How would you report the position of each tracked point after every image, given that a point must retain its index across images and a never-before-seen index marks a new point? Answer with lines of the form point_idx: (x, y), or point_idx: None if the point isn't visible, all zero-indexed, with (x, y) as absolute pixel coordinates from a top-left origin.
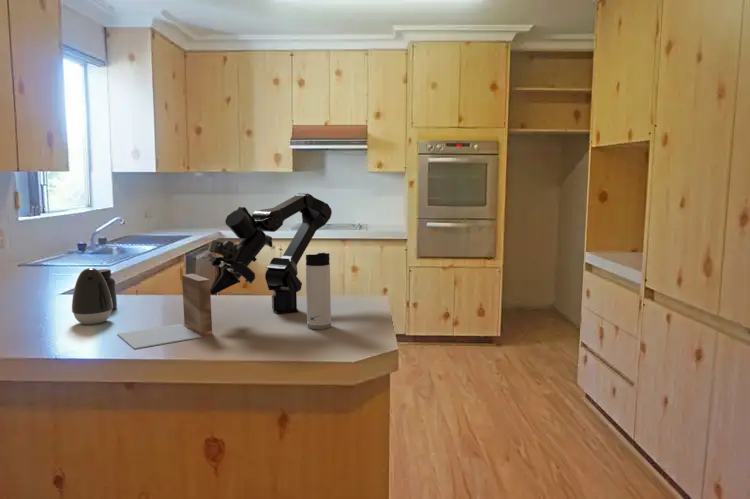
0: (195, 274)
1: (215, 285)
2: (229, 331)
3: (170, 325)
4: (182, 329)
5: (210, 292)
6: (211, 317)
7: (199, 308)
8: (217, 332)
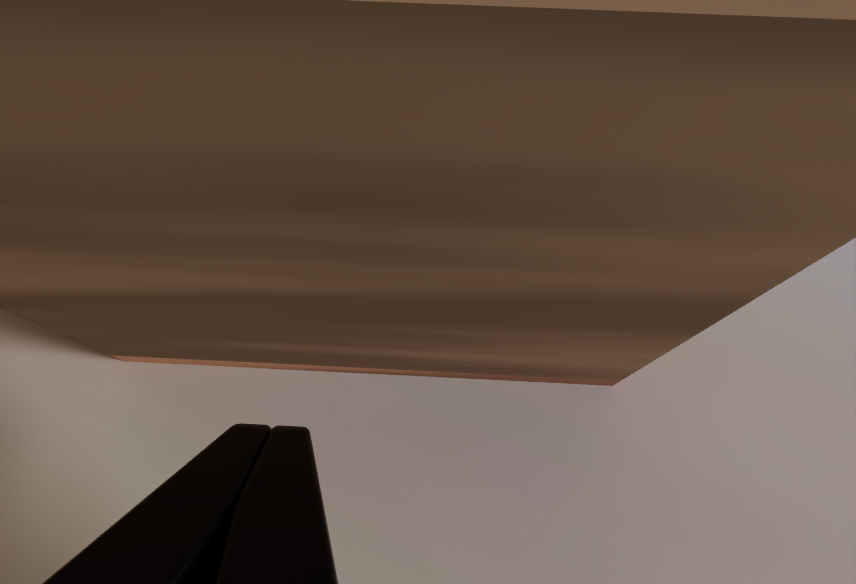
0: (848, 14)
1: (87, 551)
2: (63, 544)
3: None
4: None
5: (237, 426)
6: (32, 321)
7: None
8: (126, 423)
